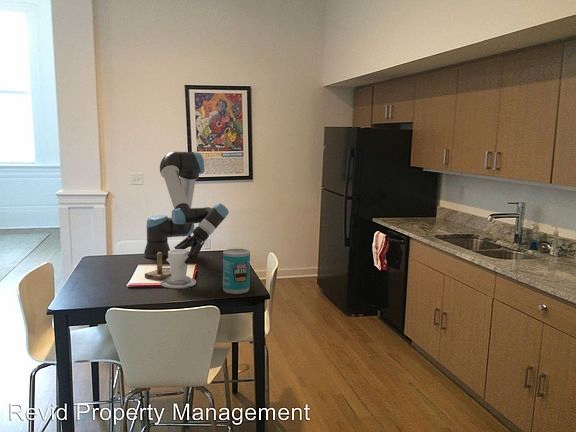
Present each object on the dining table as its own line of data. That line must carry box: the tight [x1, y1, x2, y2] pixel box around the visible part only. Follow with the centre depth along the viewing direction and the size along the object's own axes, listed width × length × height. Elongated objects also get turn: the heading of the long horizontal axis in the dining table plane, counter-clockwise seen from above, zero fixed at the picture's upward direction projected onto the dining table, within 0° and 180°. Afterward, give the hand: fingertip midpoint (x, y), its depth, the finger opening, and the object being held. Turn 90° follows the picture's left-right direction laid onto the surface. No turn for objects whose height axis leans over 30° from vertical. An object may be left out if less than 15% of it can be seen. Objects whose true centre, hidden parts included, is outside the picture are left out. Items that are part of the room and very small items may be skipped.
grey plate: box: [160, 275, 197, 290], centre depth 223 cm, size 16×16×2 cm
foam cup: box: [167, 248, 190, 280], centre depth 222 cm, size 10×9×13 cm
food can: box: [222, 248, 251, 295], centre depth 215 cm, size 12×12×18 cm
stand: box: [144, 252, 171, 282], centre depth 233 cm, size 10×10×12 cm
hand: (173, 265), depth 221 cm, fingers open, 13 cm apart
